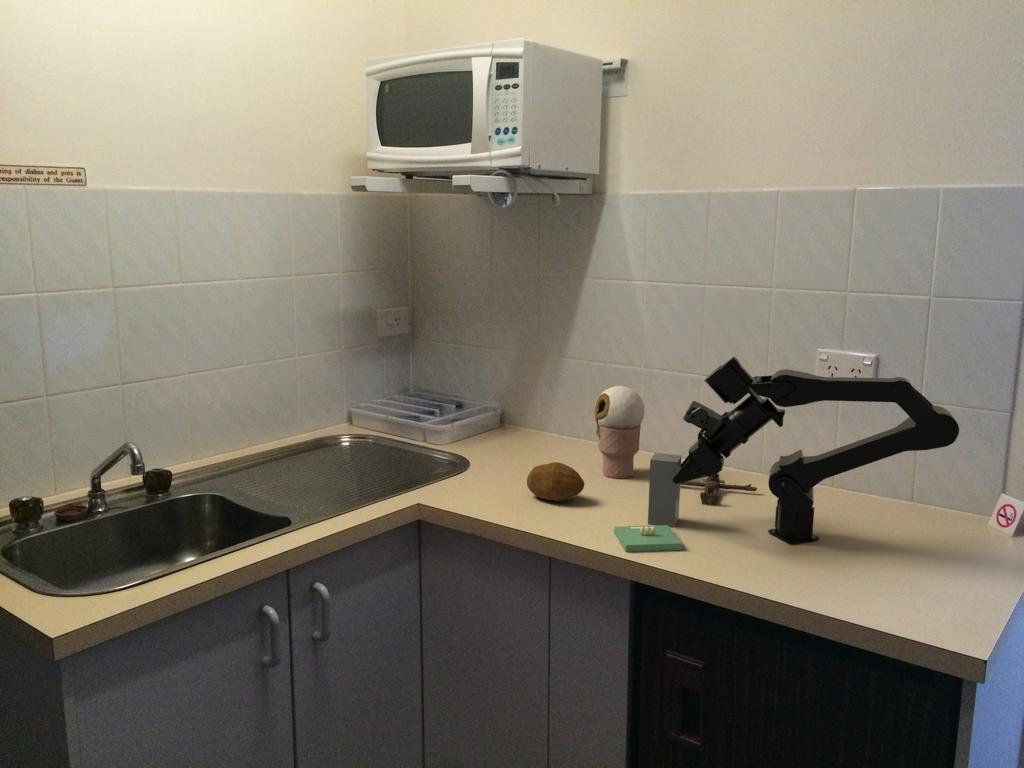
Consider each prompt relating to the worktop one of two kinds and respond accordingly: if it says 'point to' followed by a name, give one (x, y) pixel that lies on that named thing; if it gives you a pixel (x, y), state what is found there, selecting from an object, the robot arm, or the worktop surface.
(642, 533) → the header board
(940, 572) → the worktop surface
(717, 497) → the brown clay figure
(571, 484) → the potato
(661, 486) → the grey rectangular block
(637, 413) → the ice cream cone
